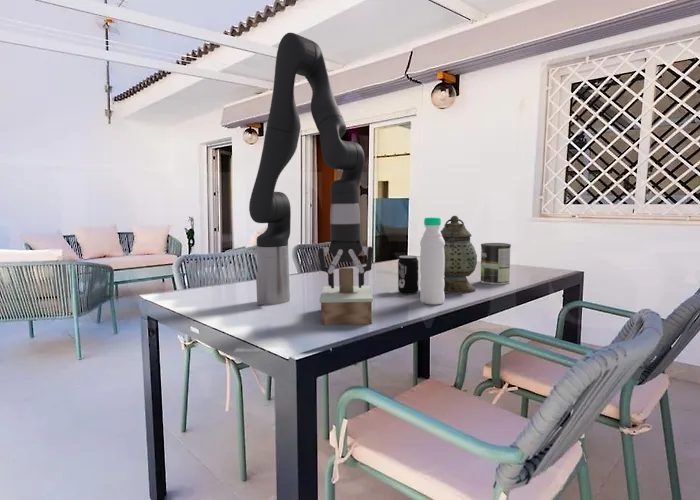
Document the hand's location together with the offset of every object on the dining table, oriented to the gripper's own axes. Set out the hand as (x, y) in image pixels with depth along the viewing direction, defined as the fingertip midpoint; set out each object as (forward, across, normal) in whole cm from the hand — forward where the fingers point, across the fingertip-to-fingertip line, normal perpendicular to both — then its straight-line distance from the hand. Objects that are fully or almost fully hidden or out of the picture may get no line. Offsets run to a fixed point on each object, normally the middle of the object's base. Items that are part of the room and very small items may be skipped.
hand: (346, 287), depth 109 cm
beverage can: (+8, +20, +31) cm, 38 cm away
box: (+8, 0, 0) cm, 8 cm away
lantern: (+8, +36, +34) cm, 50 cm away
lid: (+3, 0, 0) cm, 3 cm away
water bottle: (+8, +25, +16) cm, 31 cm away
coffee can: (+8, +54, +47) cm, 72 cm away
